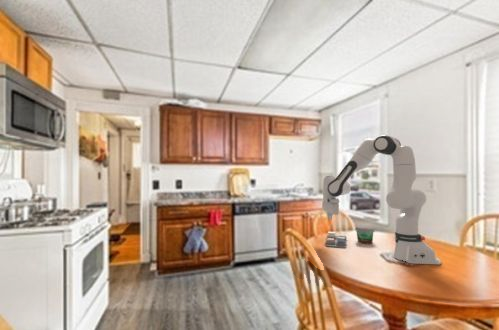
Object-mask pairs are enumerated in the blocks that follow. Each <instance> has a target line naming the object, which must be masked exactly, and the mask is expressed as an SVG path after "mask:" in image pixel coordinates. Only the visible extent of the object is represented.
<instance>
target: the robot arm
mask: <svg viewBox="0 0 499 330" xmlns="http://www.w3.org/2000/svg"><path fill="white" fill-rule="evenodd" d="M377 154H383V155H384V156H385V155H387V156H391V159H392V167H393V168H392V170H393V179H392V180H393V181H392V184H391V188H390V190H389V192H388V193H387V194H386V197H385V202H386V204H387V205H388V207H390V208H392V209H395V210H399V213H398V215H397V216H396V217H395V232H394V242H395V244H394V245H395V246H394V252H393V254H392V255H393V256H392V257H393V258H395V259H397V260H399V261H402V260H403V262H405V261H406V263H407V264H416V265H417V264H418V265H419V264H420V265H437V266H438V265H441V264H442V261H441V259H440V258H438V257H437V255H436V253H435V250H434V249H433V248H432V247H431V246H430V245H428V244H427V243H426V242H424V241H425V240H426V237H425V236H424V235H421V234H420V233H419V221H420V219H419V218H420V215H421V211H422V208H423V206H424V205H425V203H426V201H427V196H426V194H425V193H424V192H423V191H422V190H419V189H415V188H412V187H413V184H414V182H415V180H416V179H417V171H416V169H417V168H416V160H415V153H414V151H413V148H412V147H411V146H409V145H402V144H401V142H400V140H398V138H395V137H393V136H391V135H387V134H384V135H380V136H377V137H376V138H375V139H373V138H368V139H367V138H366V139H365V140H364V141H363V142H362V143H361V144H360V145H359V147H358V148H357V149H356V150H355V152H354V154H353V155H352V156H351V158H350V160H349V161H348V162H347V163H346V165H345V166H344V167H343V169H342V170H341V171H340V172H339V174H338V175H337V176H336V175H328V176H327V175H326V176H325V177H323V181H322V188H323V195H322V203H321V209H322V211H324V212H326V215H327V219H328V220H332V219H333V216H334V215H339V212H340V207H339V205H340V204H339V203H340V199H339V198H338V197H340V196H345V195H348V194H349V193H350V191H351V184H350V183H349V181H348V180H350V178H351V177H352V175H354V173H357V172H359V171H360V170H364V169H365V168H367V167H368V166H369V165H370V164H371V163H372V161H373V159H375V157H376V156H377Z"/></svg>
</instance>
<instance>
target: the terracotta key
mask: <svg viewBox="0 0 499 330" xmlns="http://www.w3.org/2000/svg"><path fill="white" fill-rule="evenodd" d="M326 240H327V242H334V238H327V237H326Z"/></svg>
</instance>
